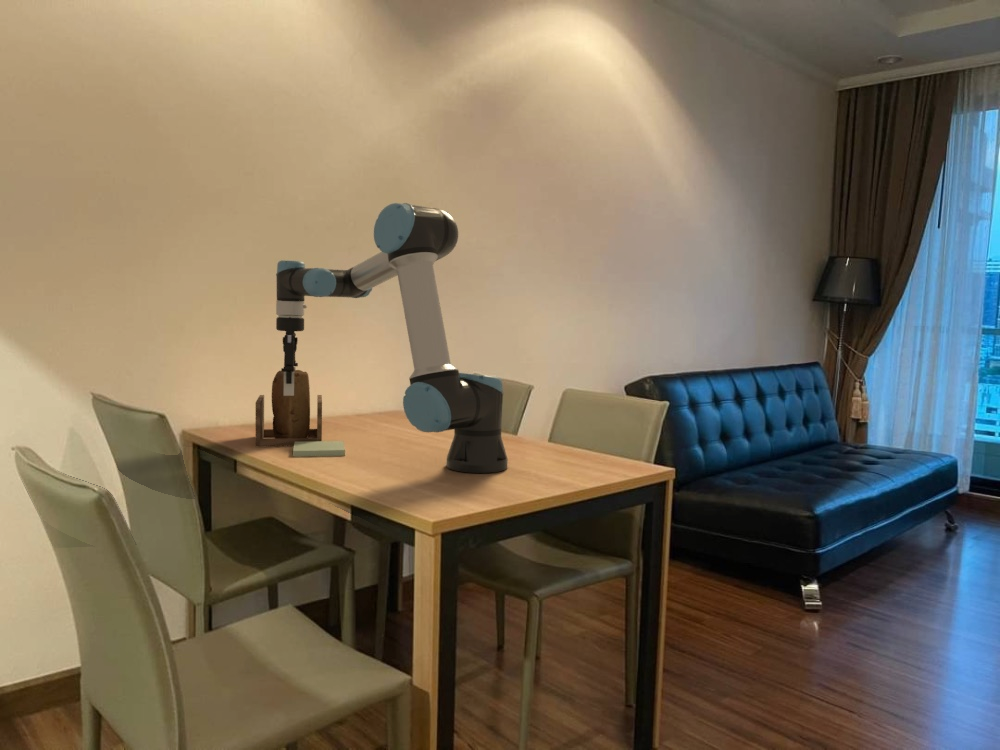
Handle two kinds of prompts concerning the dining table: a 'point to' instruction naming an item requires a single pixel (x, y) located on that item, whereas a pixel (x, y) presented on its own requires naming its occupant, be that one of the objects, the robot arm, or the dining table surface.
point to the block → (291, 407)
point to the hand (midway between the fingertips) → (289, 392)
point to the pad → (318, 448)
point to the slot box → (283, 441)
